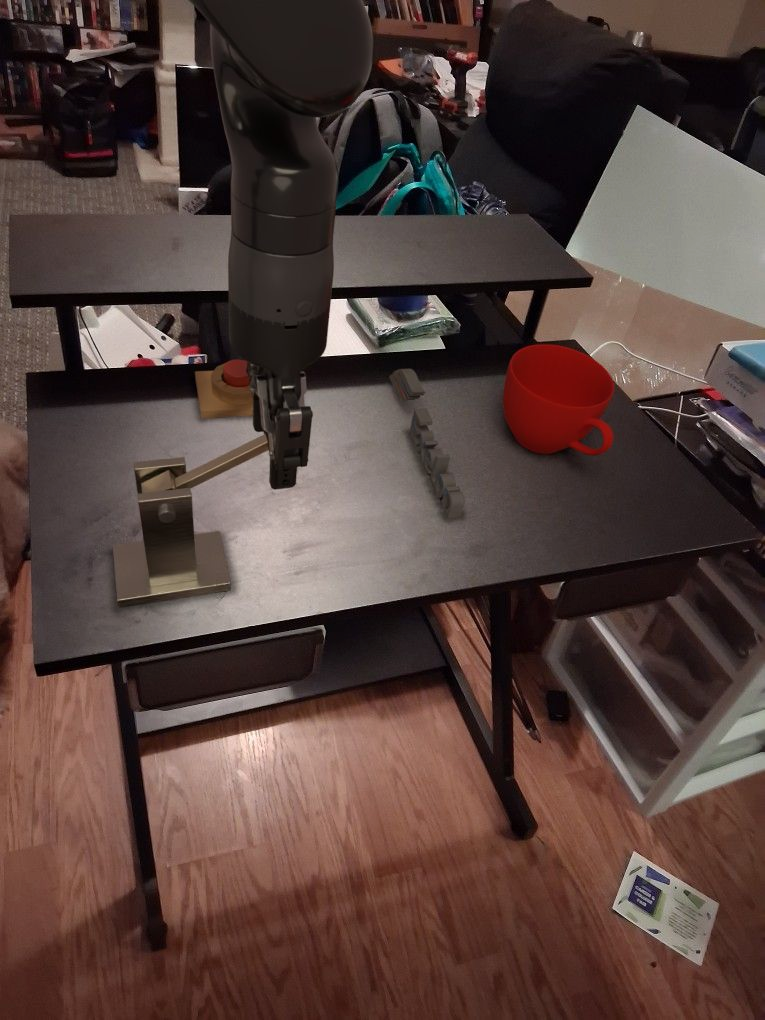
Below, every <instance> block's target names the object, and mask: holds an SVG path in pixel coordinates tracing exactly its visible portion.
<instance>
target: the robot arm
mask: <svg viewBox="0 0 765 1020" xmlns="http://www.w3.org/2000/svg"><path fill="white" fill-rule="evenodd" d="M188 1H189V2H190V3H191V4H192V5H193V6H194V7H195V8H196V9H197V10H198V11H199V12H200V14H201V15H202V16H203V17H204V18H205V19H206V21H207V22H208V23H209V38H210V39H209V40H210V41H209V42H210V53H211V61H212V62H211V63H212V67H213V69H212V70H213V74H214V81H215V87H216V92H217V97H218V103H219V109H220V114H221V120H222V125H223V130H224V134H225V137H226V141H227V145H228V151H229V155H230V163H231V173H230V227H231V229H230V241H229V246H228V247H229V248H228V257H227V288H228V289H227V290H228V291H227V292H228V296H227V297H228V339H229V344H230V346H231V348H232V350H233V351H234V353H236V355H237V356H239V358H241V360H244V361H247V368H246V373H247V374H248V379H249V385H250V392H251V394H252V396H253V415H252V426H253V431H254V432H256V433H264V432H263V429H264V430H265V431H266V432H268V435H269V448H270V450H268V456H269V471H268V472H269V474H268V482H269V486H270V489H272V490H284V489H285V490H286V489H292V488H294V487H295V486H296V485H297V475H298V468H307V467H308V463H309V453H310V443H311V432H312V425H313V423H312V422H313V417H314V412H313V410H312V408H311V406H310V405H305V404H306V403H305V394H306V393H307V391H308V390H307V389H308V388H307V376H306V372H305V371H304V370H305V369H306V368H307V367H309V366H310V365H312V364H314V363H316V362H317V361H318V360H319V359H320V358H322V356H323V355H324V353H325V352H326V349H327V343H328V333H329V324H330V323H329V322H330V315H331V314H330V313H331V302H332V292H333V284H334V283H333V282H334V274H335V273H334V271H335V265H334V264H335V258H334V257H335V256H334V233H335V223H336V211H337V200H338V191H339V170H338V169H339V168H338V164H337V161H336V158H335V156H334V154H333V152H332V150H331V148H330V147H329V146H328V144H327V143H326V141H325V139H324V138H323V136H322V134H321V132H320V130H319V126H318V122H317V119H319V118H326V117H330V116H334V115H338V114H339V113H341V112H343V111H345V110H346V109H347V108H349V107H351V105H352V104H353V103H355V102H356V101H357V100H358V98H359V97H360V96H361V94H362V93H363V92H364V90H365V88H366V85H367V83H368V81H369V79H370V76H371V72H372V67H373V64H374V56H375V55H374V53H375V50H374V49H375V44H374V42H375V41H374V33H373V28H372V23H371V20H370V16H369V13H368V11H367V8H366V6H365V4H364V1H363V0H188ZM269 414H271V415H274V416H275V420H276V421H271V420H270V416H269Z"/></svg>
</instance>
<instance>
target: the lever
mask: <svg viewBox="0 0 765 1020" xmlns="http://www.w3.org/2000/svg"><path fill="white" fill-rule="evenodd" d="M269 416H270V420H271V421H276V420H275V416H274V415H271V414H269ZM262 433H263V434H262V435H259V436H257V437H256V438H253V439H252V440H250V441H247V442H246V443H243V444H242V445H240V446H237V447H236V448H234V449H231V450H230V451H227V452H226V453H224V454H221V455H219V456H217V457H216V458H213V459H211V460H210V461H207V462H205V463H203V464H201V465H199V466H198V467H195V468H192V469H191V470H189V471H186V473H185V474H183V475H181V476H179V477H177V478H176V477H175V476H174V475H173V474H172V473H171V472H170V471H169V470H168V471H166V472H164V473H162V474H160V475H158V476H156V477H154V478H152V479H150V480H147V481H145V482H143V483H141V486H142V493H149V492H158V491H167V490H175V489H184V488H190V489H191V490H192V489H193V488H195V487H197V486H199V485H201V484H203V483H205V482H207V481H209V480H211V479H213V478H215V477H217V476H219V475H221V474H223V473H226V472H227V471H229V470H232V469H233V468H236V467H238V466H239V465H241V464H244V463H245V462H248V461H249V460H251V459H254V458H255V457H258V456H260V455H262V454H264V453H266V452H269V450H270V448H269V435H268V432H266V431H265V430H264V429H263V432H262Z"/></svg>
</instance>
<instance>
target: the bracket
mask: <svg viewBox="0 0 765 1020" xmlns="http://www.w3.org/2000/svg"><path fill="white" fill-rule="evenodd" d="M186 462H187V461H186V457H185V456H181V457H179V456H178V457H169V458H161V459H160V458H159V459H149V460H140V461H133V462H132V463H133V472H134V479H135V485H136V492H137V494H136V496H137V503H138V505H137V506H138V512H139V518H140V525H141V534H142V538H143V540H139V541H131V542H130V541H129V542H123V543H115V544H112V557H113V569H114V577H115V578H114V579H115V581H114V582H115V591H116V592H115V593H116V601H117V606H118V608H119V609H121V608H126V607H127V608H128V607H133V606H140V605H147V604H152V603H159V602H166V601H172V600H179V599H184V598H190V597H197V596H198V597H199V596H203V595H204V596H205V595H210V594H215V593H216V594H217V593H222V592H228V591H232V581H231V576H230V572H229V567H228V563H227V562H228V561H227V557H226V554H225V549H224V544H223V540H222V534H221V531H220V530H214V531H207V532H206V531H205V532H199V533H195V522H194V508H193V495H192V488H191V489H190V488H184V489H175V490H167V491H158V492H149V493H142V486H141V483H143V482H145V481H147V480H150V479H152V478H154V477H156V476H158V475H160V474H162V473H164V472H166V471H168V470H169V471H170V472H171V473H172V474H173V475H174V476H175V477H176V478H177V477H179V476H181V475H183V474H185V473H187V463H186Z"/></svg>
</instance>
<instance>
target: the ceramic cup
mask: <svg viewBox="0 0 765 1020" xmlns="http://www.w3.org/2000/svg"><path fill="white" fill-rule="evenodd" d="M614 392H615V383H614V380H613V377H612V376H611V374H610V372H609V371H608V370H607V368H605V367H604V366H603V365H602V364H601V363H600V362H598V361H597V360H596V359H594V358H592V357H591V356H589V355H587V354H586V353H584V352H581V351H579V350H576V349H573V348H570V347H567V346H562V345H558V344H551V343H550V344H548V343H547V344H546V343H539V344H532V345H527V346H525V347H522V348H520V349H518V350H517V351H516V352H514V354H513V355H512V357H511V359H510V360H509V363H508V366H507V369H506V373H505V379H504V385H503V393H502V408H503V414H504V418H505V421H506V424H507V426H508V428H509V429H510V431H511V433H512V434H513V436H514V438H515V440H516V441H517V443H519V444H520V445H521V446H522V447H524V448H525V449H527V450H529V451H531V452H534V453H539V454H552V453H557V452H558V451H562V450H565V449H567V448H572V449H573V450H575V451H577V452H580V453H581V454H584V455H587V456H598V455H602V454H604V453H606V452H607V451H608V450H610V449H611V447H612V445H613V442H614V433H613V430H612V428H611V427H610V425H609V424H607V423H606V422H605V421H604V420H602V419H601V418H602V416H603V414H604V413H605V411H606V410H607V407H608V406H609V404H610V402H611V400H612V398H613V396H614ZM593 428H597V429H598V430H599V431H600V433H601V434H602V443H601V445H600V447H599V448H592V447H591V446H590V447H589V446H588V445H585V444H584V443H581V442H580V441H581V440H583V439H584V438H585V437H586V436H587V435H588V434H590V432H591V431H592V430H593Z"/></svg>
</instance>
